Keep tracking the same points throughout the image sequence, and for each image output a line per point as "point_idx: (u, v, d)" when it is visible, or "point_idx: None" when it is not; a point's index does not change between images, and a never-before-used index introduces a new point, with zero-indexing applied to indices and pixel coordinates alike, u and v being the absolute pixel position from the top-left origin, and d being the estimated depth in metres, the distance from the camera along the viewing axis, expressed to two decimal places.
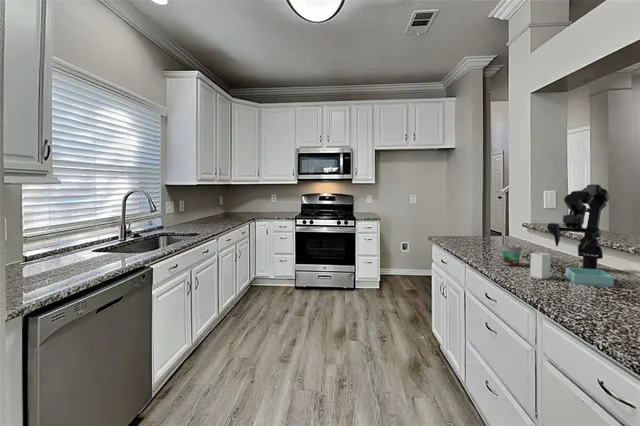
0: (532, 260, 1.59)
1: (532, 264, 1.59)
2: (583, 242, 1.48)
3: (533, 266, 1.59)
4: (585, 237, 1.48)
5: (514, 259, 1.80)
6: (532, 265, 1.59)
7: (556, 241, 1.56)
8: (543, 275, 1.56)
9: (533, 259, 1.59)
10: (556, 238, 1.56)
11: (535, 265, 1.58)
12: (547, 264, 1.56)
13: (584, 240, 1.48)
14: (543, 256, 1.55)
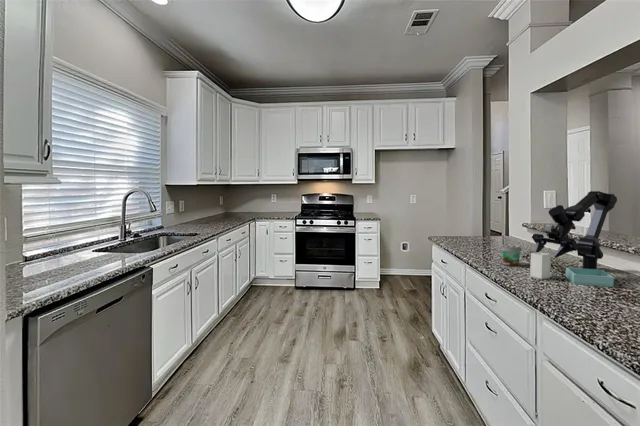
0: (532, 260, 1.59)
1: (532, 264, 1.59)
2: (557, 251, 1.55)
3: (533, 266, 1.59)
4: (560, 247, 1.55)
5: (514, 259, 1.80)
6: (532, 265, 1.59)
7: (536, 249, 1.64)
8: (543, 275, 1.56)
9: (533, 259, 1.59)
10: (536, 247, 1.64)
11: (535, 265, 1.58)
12: (547, 264, 1.56)
13: (559, 250, 1.55)
14: (543, 256, 1.55)
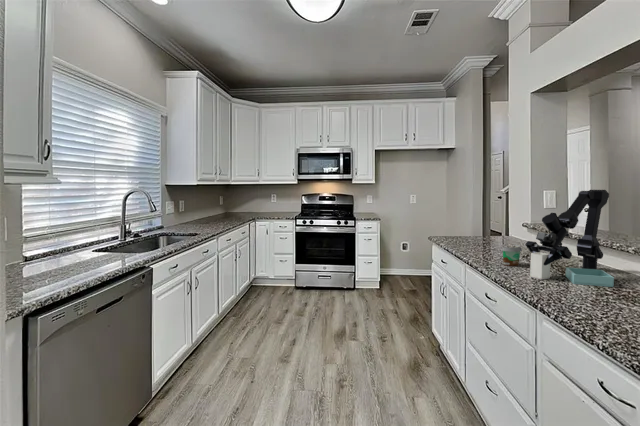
0: (532, 260, 1.59)
1: (532, 264, 1.59)
2: (547, 259, 1.55)
3: (533, 266, 1.59)
4: (550, 255, 1.55)
5: (514, 259, 1.80)
6: (532, 265, 1.59)
7: None
8: (543, 275, 1.56)
9: (533, 259, 1.59)
10: None
11: (535, 265, 1.58)
12: None
13: (548, 257, 1.55)
14: (543, 256, 1.55)
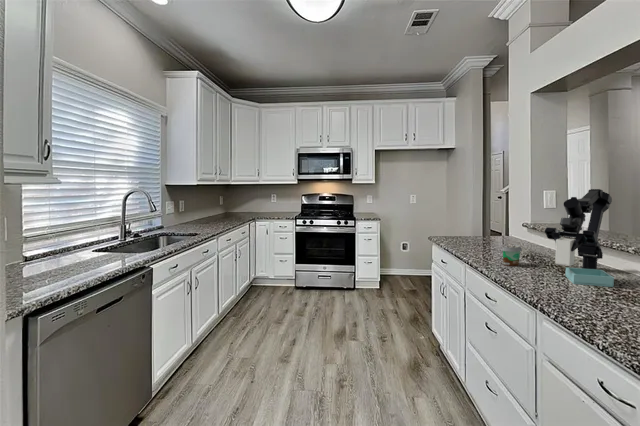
0: (557, 247, 1.53)
1: (558, 251, 1.53)
2: (574, 245, 1.50)
3: (558, 253, 1.53)
4: (576, 240, 1.50)
5: (514, 259, 1.80)
6: (558, 252, 1.53)
7: None
8: (570, 261, 1.51)
9: (559, 246, 1.53)
10: None
11: (562, 252, 1.52)
12: None
13: (575, 243, 1.50)
14: (570, 242, 1.50)
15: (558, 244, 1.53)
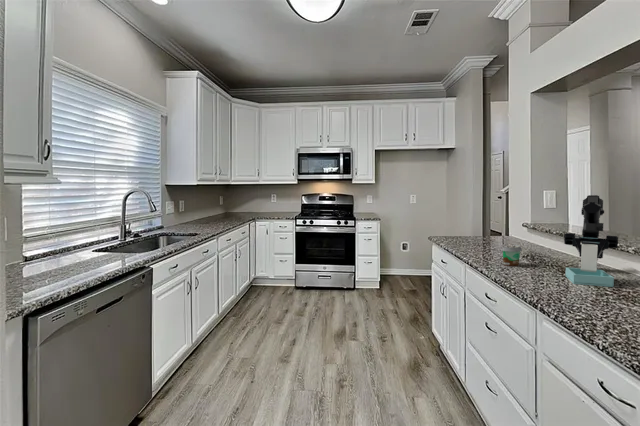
0: (583, 253, 1.50)
1: (583, 257, 1.50)
2: (599, 250, 1.49)
3: (584, 259, 1.50)
4: (600, 245, 1.49)
5: (514, 259, 1.80)
6: (583, 258, 1.50)
7: (580, 250, 1.52)
8: (596, 267, 1.49)
9: (585, 252, 1.50)
10: (580, 247, 1.53)
11: (588, 258, 1.49)
12: None
13: (600, 248, 1.49)
14: (597, 248, 1.48)
15: (584, 250, 1.50)
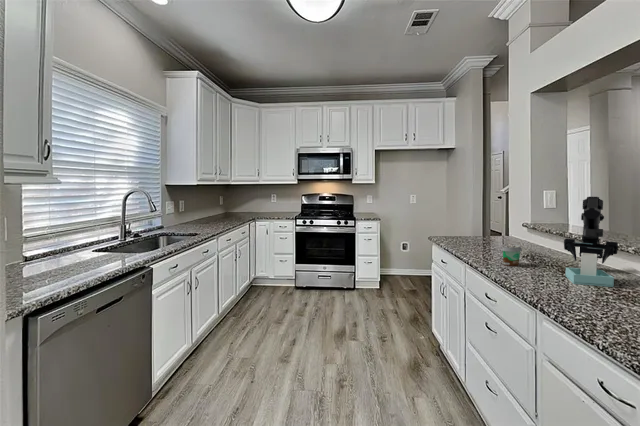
0: (583, 262, 1.50)
1: (583, 266, 1.50)
2: (604, 257, 1.48)
3: (584, 268, 1.50)
4: (605, 252, 1.48)
5: (514, 259, 1.80)
6: (583, 267, 1.50)
7: (575, 255, 1.54)
8: None
9: (584, 261, 1.50)
10: (574, 253, 1.54)
11: (587, 267, 1.49)
12: None
13: (605, 255, 1.48)
14: None
15: (583, 259, 1.50)
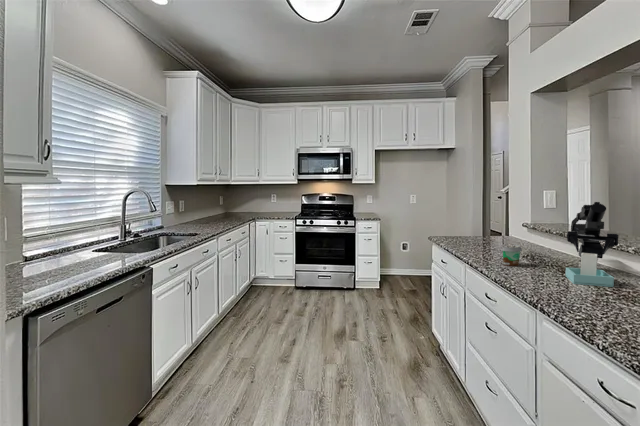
0: (583, 262, 1.50)
1: (583, 266, 1.50)
2: (605, 248, 1.56)
3: (584, 268, 1.50)
4: (606, 243, 1.56)
5: (514, 259, 1.80)
6: (583, 267, 1.50)
7: (577, 247, 1.62)
8: None
9: (584, 261, 1.50)
10: (577, 244, 1.62)
11: (587, 267, 1.49)
12: None
13: (605, 246, 1.56)
14: None
15: (583, 259, 1.50)
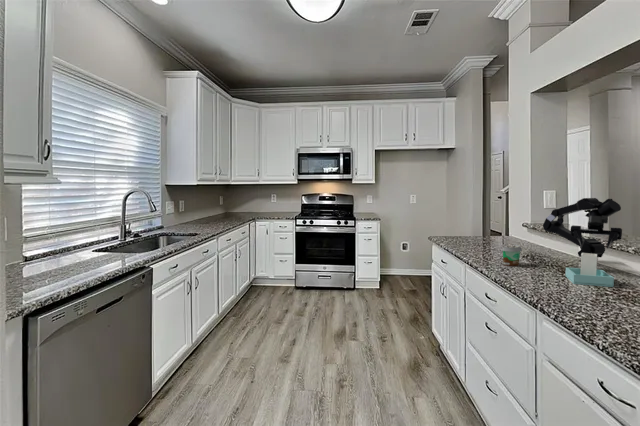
0: (583, 262, 1.50)
1: (583, 266, 1.50)
2: (609, 242, 1.56)
3: (584, 268, 1.50)
4: (610, 237, 1.57)
5: (514, 259, 1.80)
6: (583, 267, 1.50)
7: (581, 241, 1.62)
8: None
9: (584, 261, 1.50)
10: (581, 239, 1.63)
11: (587, 267, 1.49)
12: None
13: (609, 240, 1.56)
14: None
15: (583, 259, 1.50)
